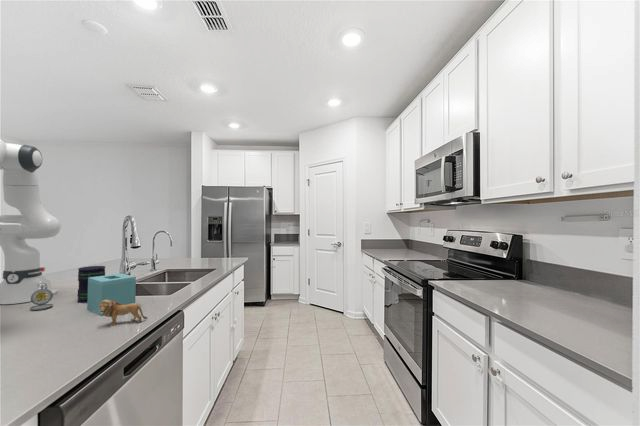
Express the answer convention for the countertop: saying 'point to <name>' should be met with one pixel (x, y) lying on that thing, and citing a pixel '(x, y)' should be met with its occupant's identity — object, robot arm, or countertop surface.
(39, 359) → the countertop surface
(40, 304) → the pocket watch
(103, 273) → the storage jar
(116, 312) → the lion figurine
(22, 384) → the countertop surface
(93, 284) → the money box
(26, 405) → the countertop surface
